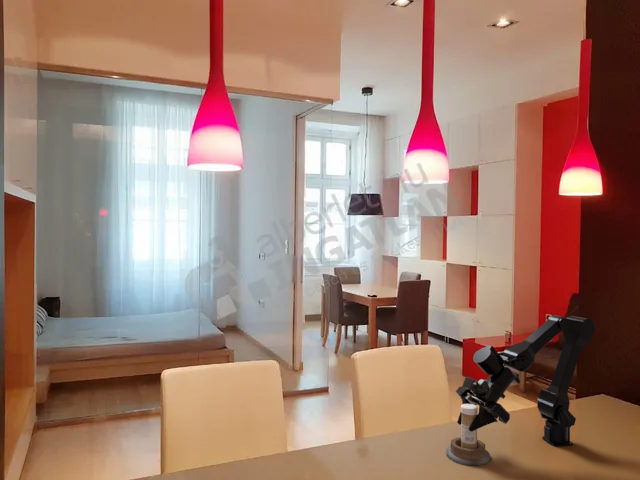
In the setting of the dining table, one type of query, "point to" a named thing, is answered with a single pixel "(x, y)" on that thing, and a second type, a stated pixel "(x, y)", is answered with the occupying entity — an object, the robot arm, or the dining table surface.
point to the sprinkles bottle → (468, 417)
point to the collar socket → (467, 453)
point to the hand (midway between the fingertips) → (464, 427)
